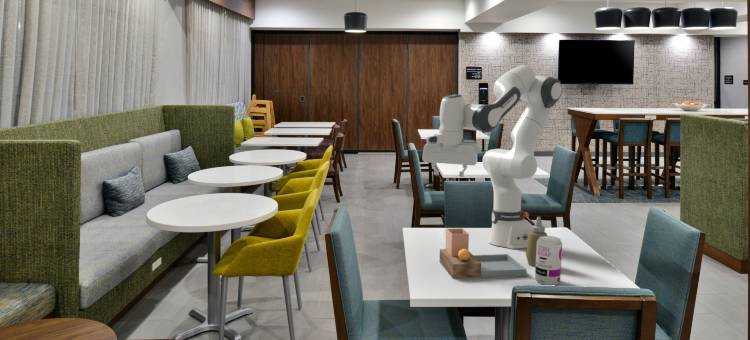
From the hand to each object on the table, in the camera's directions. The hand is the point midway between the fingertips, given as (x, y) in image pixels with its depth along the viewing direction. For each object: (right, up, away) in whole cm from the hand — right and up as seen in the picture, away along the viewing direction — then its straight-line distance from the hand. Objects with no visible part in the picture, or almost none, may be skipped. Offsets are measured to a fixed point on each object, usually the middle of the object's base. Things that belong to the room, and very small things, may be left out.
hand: (448, 175), depth 214 cm
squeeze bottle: (+32, -33, -2) cm, 46 cm away
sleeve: (+2, -28, -5) cm, 28 cm away
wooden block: (+3, -34, -8) cm, 35 cm away
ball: (+4, -27, -14) cm, 31 cm away
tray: (+16, -34, -7) cm, 38 cm away
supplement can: (+31, -36, -20) cm, 51 cm away
